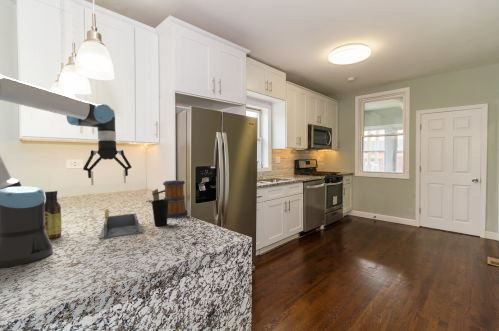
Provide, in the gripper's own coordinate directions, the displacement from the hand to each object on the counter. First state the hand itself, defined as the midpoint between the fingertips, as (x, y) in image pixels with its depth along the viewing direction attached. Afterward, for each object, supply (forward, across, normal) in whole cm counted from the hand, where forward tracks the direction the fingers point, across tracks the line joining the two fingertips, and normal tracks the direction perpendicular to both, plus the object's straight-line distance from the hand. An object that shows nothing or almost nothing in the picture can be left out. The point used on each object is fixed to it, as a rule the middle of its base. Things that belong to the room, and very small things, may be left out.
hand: (109, 183), depth 117 cm
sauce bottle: (+21, +22, +5) cm, 31 cm away
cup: (+21, -21, +13) cm, 33 cm away
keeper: (+21, -4, +12) cm, 25 cm away
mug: (+21, -30, -5) cm, 37 cm away
